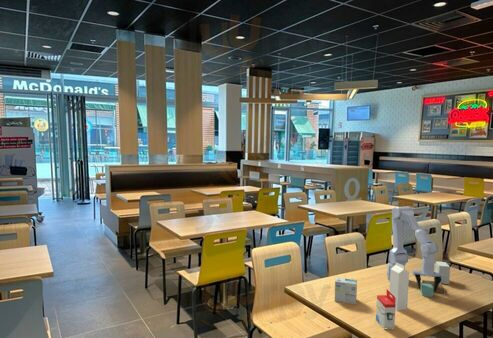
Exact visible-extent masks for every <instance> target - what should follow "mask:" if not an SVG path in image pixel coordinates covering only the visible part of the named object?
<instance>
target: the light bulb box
mask: <svg viewBox="0 0 493 338" xmlns="http://www.w3.org/2000/svg"><path fill="white" fill-rule="evenodd" d="M357 287H358V284H357V279H356V278H348V277H347V278H346V277H341V276H336V277H335V281H334V302H337V303H344V304H351V305H356V304H357V296H358V295H357V292H358V291H357V290H358V289H357Z"/></svg>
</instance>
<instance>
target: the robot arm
mask: <svg viewBox="0 0 493 338" xmlns="http://www.w3.org/2000/svg"><path fill="white" fill-rule="evenodd" d="M404 221H406V222H407V223H408V225H409V226H410V227H411V228H412V230H413V231H414V237H415V238H416V240H417V242H418V243H419V245H420V247H419V248H420V251H421V256H422V261H421V265H422V266H421V270H412V275H413V276H414V278H415V279H416V283H417V289H419V290H421V283H422V282H421V281H422V278H421V276H422V277H429V278H433V281H434V290H435V291H436V290H437V287H438V285H439V283H440V282H441V280H442V279H441V278H443V276H444V275H443V274H442V273H436V272H435V264H436V261H435V259H436V254H437V253H438V250H439V248H438V247H439V246H438V244H437V243H436V242H434V241H433V240H431V238H430V236H429V235H428V234H427V231H426V230H423V229H422V228H421V226H420V225H419V223H418V221H417V219H416V217H415V212H414V210H413V208H412V206H408V205H406V206H395V207H394V208H392V209H391V224H392V225H391V227H392V243H393V244H392V245H393V247H392V249H390V250H389V254H388V261H389V262H388V263H387V265H386V266H387V269H386V276H387V279H388V280H389V281H390V270H391V268H392V267H393V266H395V265H396V262H397V263H399V264H401V265H403V266H404V269H405V268H406V267H405V266H406V265H407V263H408V262H409V256H408V252H407V250H406V249H405V248H404V236H403V235H404V233H403V232H404V231H403V222H404ZM405 270H406V269H405Z"/></svg>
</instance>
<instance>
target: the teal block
mask: <svg viewBox="0 0 493 338" xmlns="http://www.w3.org/2000/svg"><path fill="white" fill-rule="evenodd" d="M420 293H421V296H422V297H429V298H434V292H433V287H432V285H431V284H424V283H422V282H420Z"/></svg>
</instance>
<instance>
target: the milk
mask: <svg viewBox="0 0 493 338" xmlns="http://www.w3.org/2000/svg"><path fill="white" fill-rule="evenodd" d="M409 279H410V272H409V270H407V269H404V266H403V265H401V264H399V263H397V262H396V265H395V266H393V267H392V268H391V270H390V280H389V291H390V292H391V293H392V294H393V295H394V296H395V298H396V301H395V304H396V306H395V311H405V310H408V302H409V300H408V299H409V298H408V297H409V283H410V282H409V281H410V280H409ZM390 296H391V295H390ZM391 297H392V296H391Z"/></svg>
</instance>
